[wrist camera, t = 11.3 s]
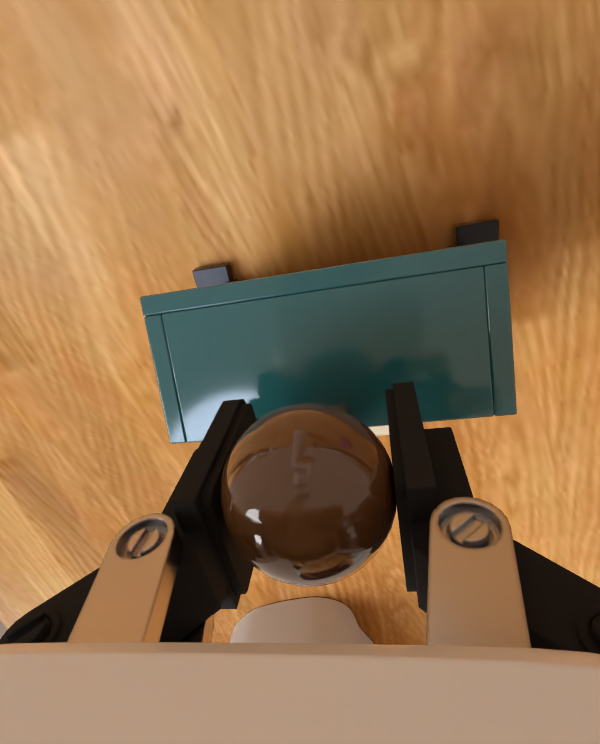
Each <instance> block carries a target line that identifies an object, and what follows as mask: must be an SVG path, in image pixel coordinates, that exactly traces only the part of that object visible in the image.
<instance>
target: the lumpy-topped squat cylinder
mask: <svg viewBox="0 0 600 744" xmlns="http://www.w3.org/2000/svg"><path fill="white" fill-rule="evenodd" d="M230 643H311V644H373V642H372V641H371V639H370V638H369V637H368V636H367V635H366V634H365V633H364V632H363V631H362V630H361V629H360V627H359V625H358V624H357V621H356V619H355V616H354V614H353V613H352V611H351V610H350V609H349V608H348V607H347V606H346V605H345V604H343V603H341V602H339V601H336V600H333V599H328V598H322V597H309V598H301V599H294V600H288V601H282V602H278V603H273V604H269V605H266V606H262V607H259V608H256V609H254V610H252V611H250V612H248V613H247V614H246V615H245V616H244V617H243V618H242V619H241V620H240V621H239V622H238V623H237V624H236V626H235V627H234V629H233V632H232V636H231V640H230Z"/></svg>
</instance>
